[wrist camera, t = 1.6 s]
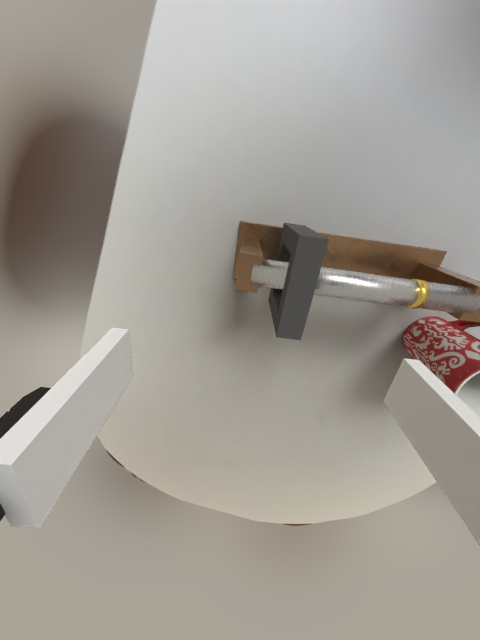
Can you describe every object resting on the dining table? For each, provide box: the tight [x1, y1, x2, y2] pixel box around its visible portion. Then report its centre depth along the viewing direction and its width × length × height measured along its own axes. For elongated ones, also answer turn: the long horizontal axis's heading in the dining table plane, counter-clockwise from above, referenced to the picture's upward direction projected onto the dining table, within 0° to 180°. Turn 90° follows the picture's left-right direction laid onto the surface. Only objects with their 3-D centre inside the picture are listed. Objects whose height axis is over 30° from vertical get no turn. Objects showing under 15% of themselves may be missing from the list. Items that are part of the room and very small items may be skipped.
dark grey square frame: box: [269, 223, 329, 340], centre depth 28 cm, size 2×10×10 cm, turn 172°
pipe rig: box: [233, 221, 480, 323], centre depth 32 cm, size 29×8×12 cm, turn 82°
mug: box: [403, 317, 480, 417], centre depth 36 cm, size 13×9×14 cm
